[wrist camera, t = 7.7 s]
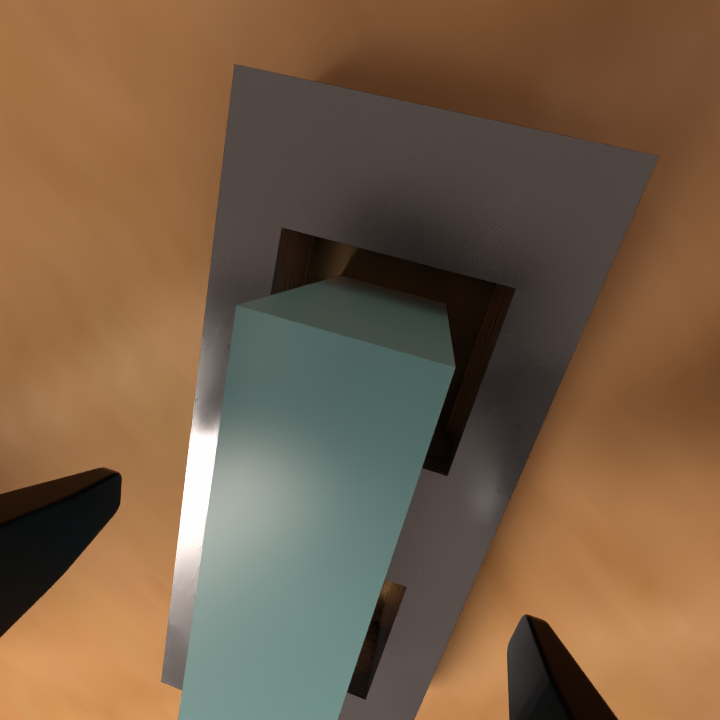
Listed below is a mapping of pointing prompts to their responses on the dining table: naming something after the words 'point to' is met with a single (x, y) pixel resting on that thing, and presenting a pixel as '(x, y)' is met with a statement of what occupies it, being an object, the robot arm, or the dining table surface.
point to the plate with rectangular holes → (429, 247)
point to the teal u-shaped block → (309, 492)
